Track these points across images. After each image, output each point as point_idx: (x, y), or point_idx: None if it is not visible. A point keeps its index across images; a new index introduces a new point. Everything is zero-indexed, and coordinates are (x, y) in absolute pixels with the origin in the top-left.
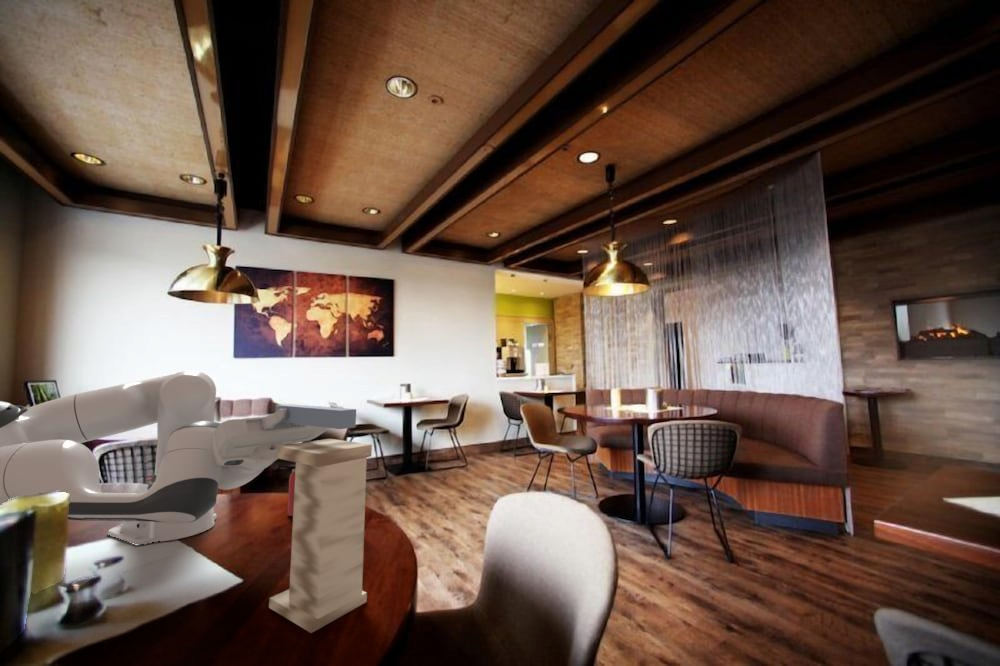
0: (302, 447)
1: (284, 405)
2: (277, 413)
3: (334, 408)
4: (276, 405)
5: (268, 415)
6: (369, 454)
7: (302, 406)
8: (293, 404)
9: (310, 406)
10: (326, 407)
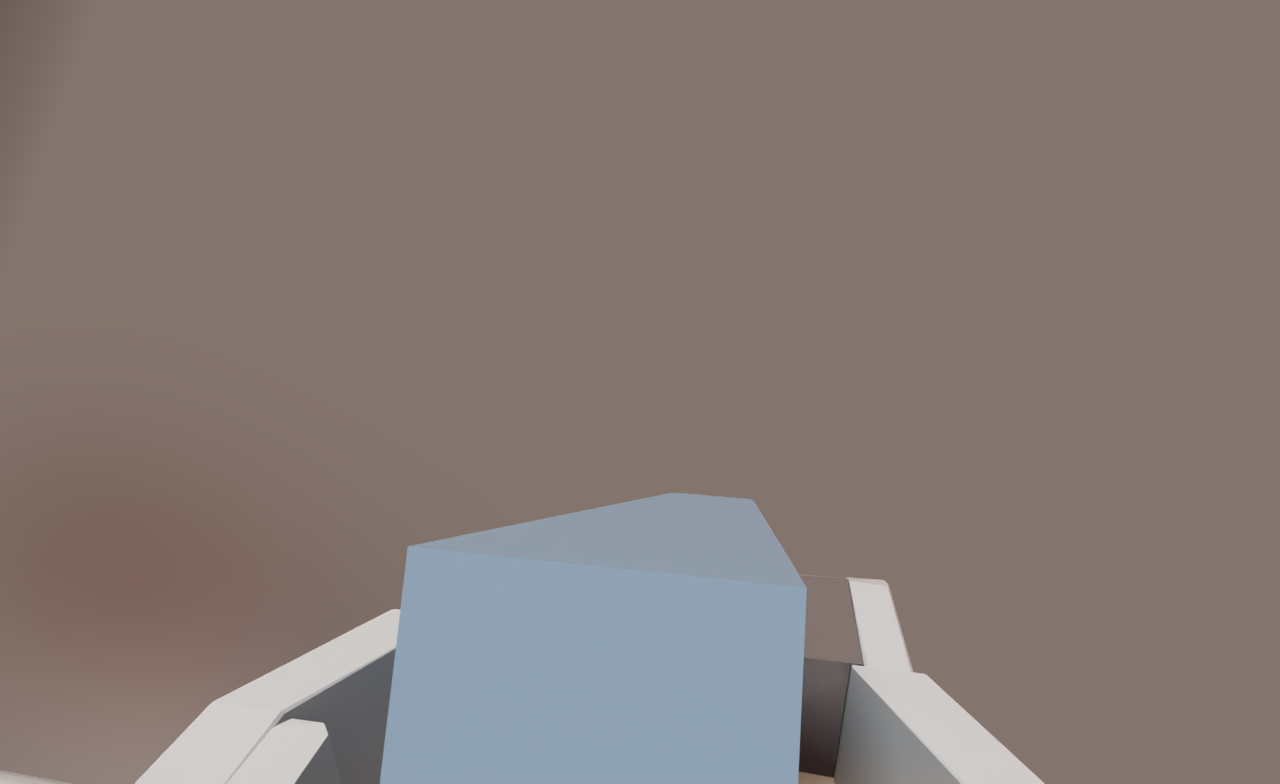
0: (817, 778)
1: (743, 547)
2: (897, 664)
3: (696, 498)
4: (805, 589)
5: (1028, 777)
6: None
7: (707, 515)
8: (497, 535)
9: (667, 509)
10: (672, 500)
